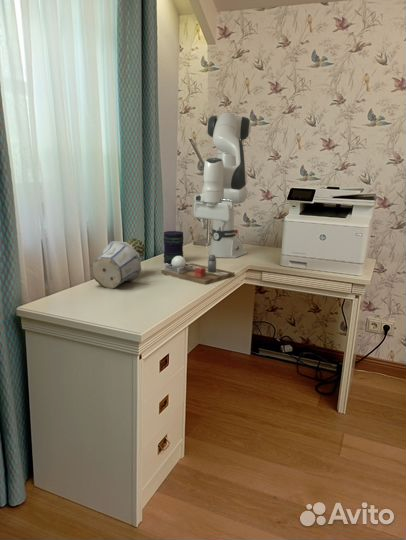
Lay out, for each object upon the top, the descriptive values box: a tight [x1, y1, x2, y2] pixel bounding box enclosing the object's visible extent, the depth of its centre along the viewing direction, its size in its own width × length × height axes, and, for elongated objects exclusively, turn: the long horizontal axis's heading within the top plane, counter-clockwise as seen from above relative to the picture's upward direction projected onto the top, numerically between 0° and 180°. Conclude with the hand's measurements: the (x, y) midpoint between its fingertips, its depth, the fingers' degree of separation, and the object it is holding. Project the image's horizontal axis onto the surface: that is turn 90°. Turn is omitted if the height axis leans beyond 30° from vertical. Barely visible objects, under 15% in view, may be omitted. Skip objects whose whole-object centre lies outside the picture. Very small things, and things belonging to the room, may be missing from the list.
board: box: [160, 263, 235, 285], centre depth 190 cm, size 20×26×5 cm
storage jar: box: [163, 230, 184, 265], centre depth 213 cm, size 10×10×15 cm
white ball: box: [171, 256, 187, 268], centre depth 190 cm, size 6×6×6 cm
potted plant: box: [90, 237, 146, 289], centre depth 177 cm, size 18×18×30 cm
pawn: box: [207, 255, 217, 272], centre depth 189 cm, size 4×4×8 cm
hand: (213, 229), depth 186 cm, fingers open, 8 cm apart
